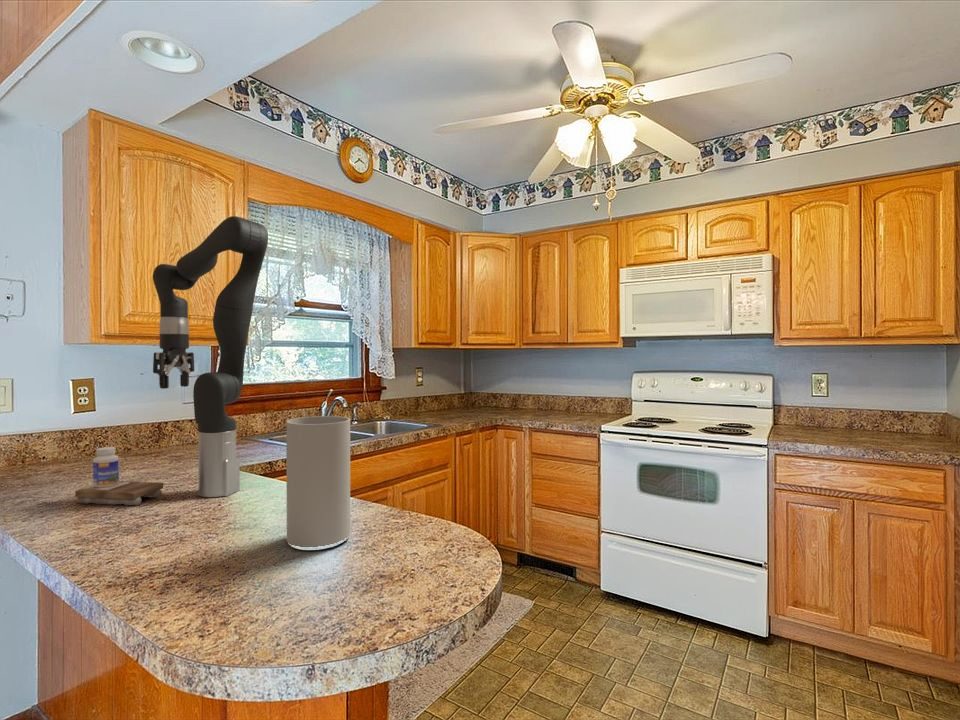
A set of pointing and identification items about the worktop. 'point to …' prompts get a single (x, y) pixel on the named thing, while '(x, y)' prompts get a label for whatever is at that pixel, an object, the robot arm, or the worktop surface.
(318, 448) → the cylinder vase
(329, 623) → the worktop surface
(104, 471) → the pill bottle
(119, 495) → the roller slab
